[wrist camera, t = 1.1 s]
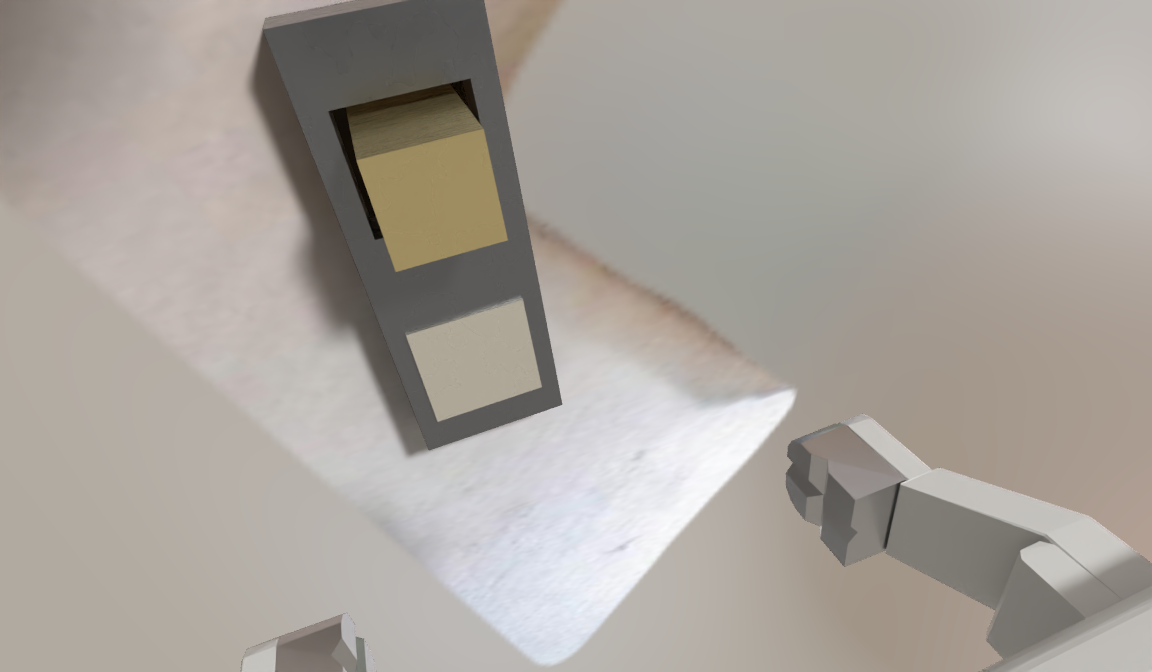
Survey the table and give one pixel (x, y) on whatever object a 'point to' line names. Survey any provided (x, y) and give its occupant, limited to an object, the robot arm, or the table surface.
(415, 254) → the tan block
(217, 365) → the table surface
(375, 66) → the plate
